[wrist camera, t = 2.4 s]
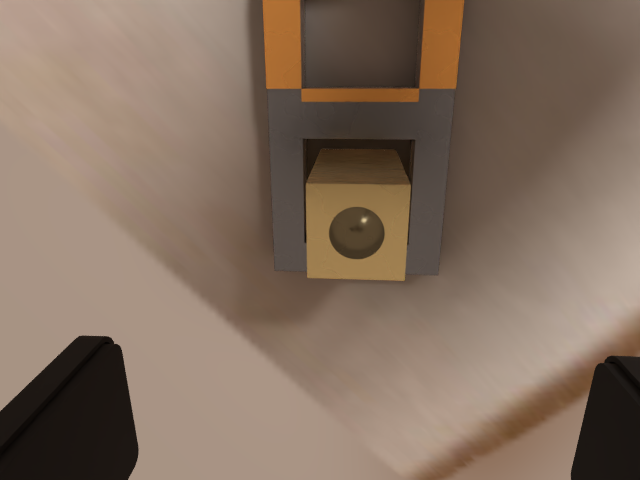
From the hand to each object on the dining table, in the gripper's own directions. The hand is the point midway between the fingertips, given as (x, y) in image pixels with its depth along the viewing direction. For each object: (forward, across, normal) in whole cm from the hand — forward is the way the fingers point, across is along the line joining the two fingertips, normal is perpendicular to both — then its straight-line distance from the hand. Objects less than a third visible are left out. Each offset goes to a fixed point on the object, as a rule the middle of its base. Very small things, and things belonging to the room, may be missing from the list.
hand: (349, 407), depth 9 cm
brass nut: (+18, 0, 0) cm, 18 cm away
